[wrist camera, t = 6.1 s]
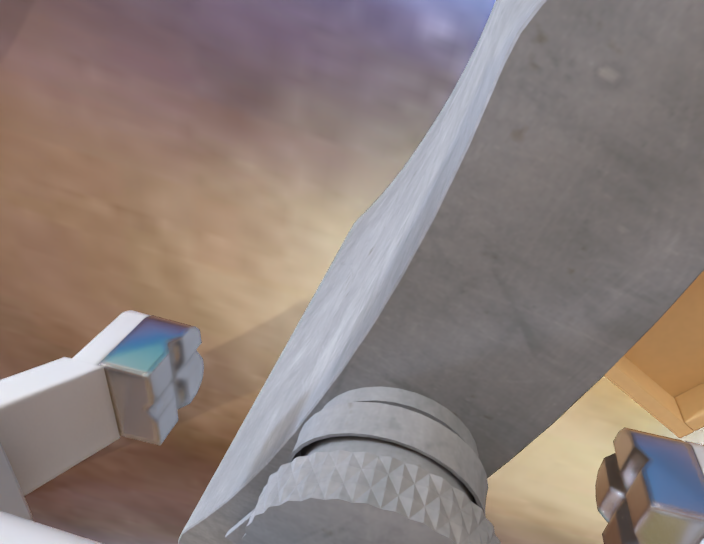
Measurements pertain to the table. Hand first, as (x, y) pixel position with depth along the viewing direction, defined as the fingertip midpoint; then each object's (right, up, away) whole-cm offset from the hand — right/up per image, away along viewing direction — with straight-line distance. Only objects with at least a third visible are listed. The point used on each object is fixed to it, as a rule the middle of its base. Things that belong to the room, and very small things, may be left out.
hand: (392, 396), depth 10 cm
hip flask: (+4, +8, +14) cm, 17 cm away
